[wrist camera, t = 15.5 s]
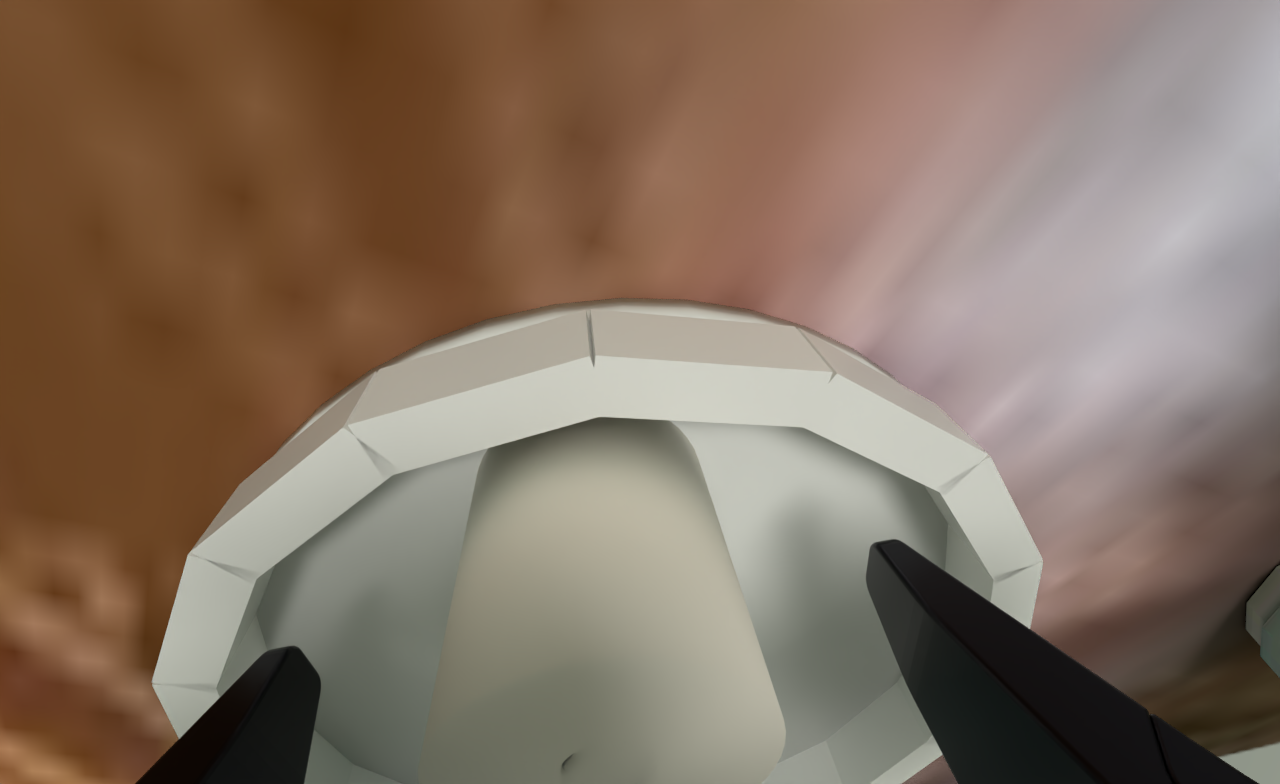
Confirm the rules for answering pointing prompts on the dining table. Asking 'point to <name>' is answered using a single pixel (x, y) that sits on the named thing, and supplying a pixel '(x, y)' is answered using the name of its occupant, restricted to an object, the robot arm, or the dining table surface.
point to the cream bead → (598, 623)
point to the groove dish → (561, 396)
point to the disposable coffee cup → (1266, 619)
